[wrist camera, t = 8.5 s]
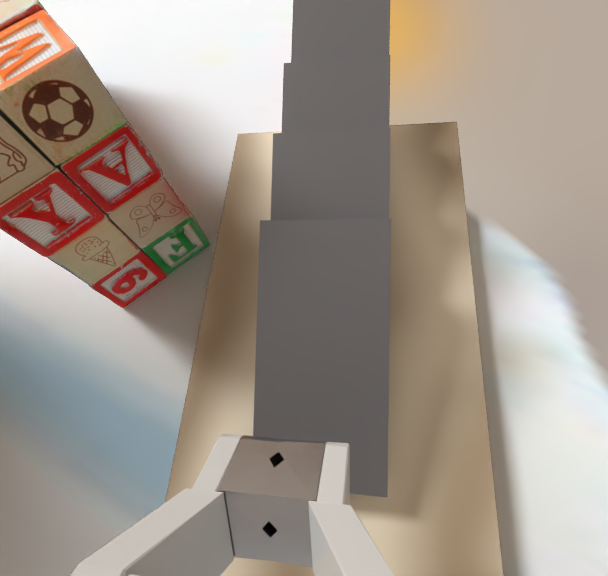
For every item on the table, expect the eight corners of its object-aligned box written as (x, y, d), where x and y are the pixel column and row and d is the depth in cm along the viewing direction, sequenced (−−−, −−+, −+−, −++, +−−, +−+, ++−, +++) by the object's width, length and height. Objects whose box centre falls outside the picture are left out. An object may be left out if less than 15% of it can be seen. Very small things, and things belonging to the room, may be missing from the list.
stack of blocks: (9, 120, 31) (-191, -75, 20) (78, 77, 32) (-76, -131, 21) (124, 311, 22) (-121, 153, 11) (215, 245, 23) (73, 38, 12)
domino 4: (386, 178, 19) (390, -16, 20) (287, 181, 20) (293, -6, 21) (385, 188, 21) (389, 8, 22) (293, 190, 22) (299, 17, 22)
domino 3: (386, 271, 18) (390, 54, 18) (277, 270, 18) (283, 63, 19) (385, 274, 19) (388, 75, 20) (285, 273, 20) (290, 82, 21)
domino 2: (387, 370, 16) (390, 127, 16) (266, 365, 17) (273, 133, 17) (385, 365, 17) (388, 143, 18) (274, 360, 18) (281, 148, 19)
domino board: (146, 665, 15) (129, 680, 14) (243, 148, 26) (238, 134, 25) (509, 735, 13) (521, 759, 12) (452, 137, 24) (456, 121, 22)
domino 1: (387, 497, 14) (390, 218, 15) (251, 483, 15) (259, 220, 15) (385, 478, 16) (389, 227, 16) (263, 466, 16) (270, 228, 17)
